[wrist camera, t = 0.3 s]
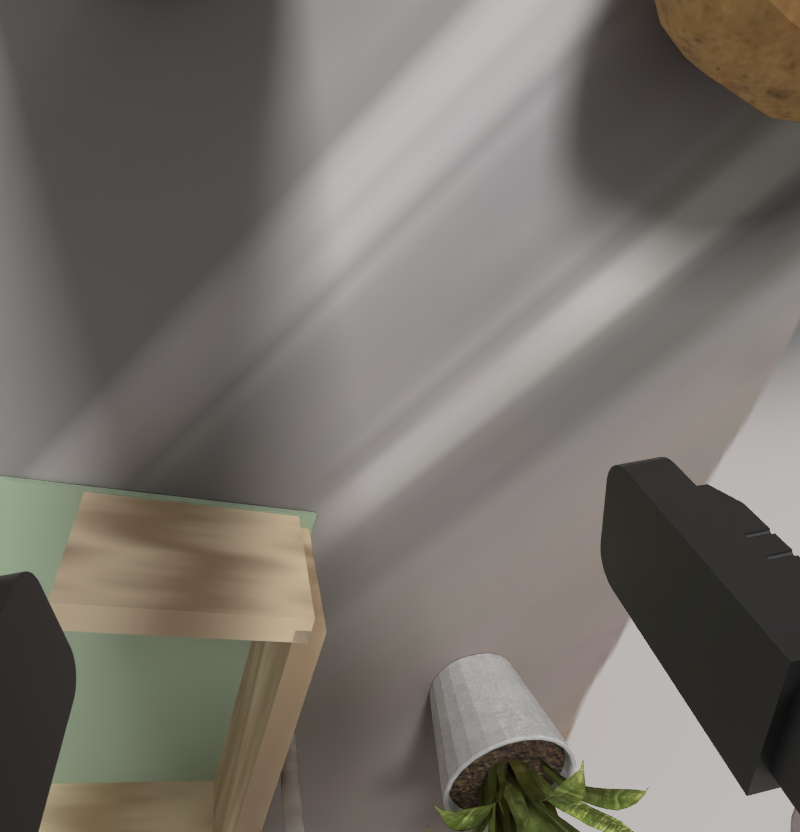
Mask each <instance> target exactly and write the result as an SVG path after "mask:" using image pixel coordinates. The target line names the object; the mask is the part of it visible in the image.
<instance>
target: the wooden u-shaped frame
mask: <svg viewBox="0 0 800 832" xmlns="http://www.w3.org/2000/svg"><path fill="white" fill-rule="evenodd" d="M48 601H49V603H50V605H51V607H52V609H53V611H54V614H55V616H56V618H57V620H58V622H59V624H60V626H61V628H62V630H63V631H74V632H93V633H113V634H133V635H153V636H173V637H193V638H212V639H232V640H252V642H251V646H250V650H249V653H248V657H247V661H246V664H245V668H244V672H243V676H242V679H241V683H240V687H239V690H238V694H237V698H236V701H235V705H234V709H233V713H232V716H231V720H230V724H229V727H228V731H227V735H226V738H225V742H224V746H223V750H222V753H221V757H220V761H219V764H218V768H217V772H216V775H215V779H214V781H174V782H117V783H60V784H51V787H50V791H49V795H48V798H47V802H46V806H45V810H44V813H43V817H42V821H41V825H40V828H39V832H262V829H263V826H264V823H265V820H266V817H267V814H268V811H269V807H270V804H271V801H272V798H273V795H274V792H275V789H276V786H277V783H278V780H279V777H280V774H281V787H282V801H283V814H284V828H285V832H305V829H304V819H303V809H302V799H301V789H300V779H299V769H298V759H297V749H296V739H295V728H296V725H297V722H298V719H299V716H300V713H301V710H302V707H303V704H304V701H305V697H306V694H307V691H308V688H309V685H310V682H311V679H312V676H313V673H314V670H315V667H316V664H317V661H318V658H319V655H320V652H321V649H322V646H323V642H324V639H325V636H326V633H327V630H326V625H325V619H324V613H323V607H322V602H321V596H320V590H319V584H318V578H317V573H316V567H315V561H314V555H313V550H312V544H311V538H310V532H309V528H301V526H300V519H299V516H292V515H284V514H275V513H266V512H257V511H248V510H240V509H231V508H222V507H213V506H204V505H196V504H187V503H178V502H169V501H160V500H152V499H143V498H134V497H125V496H116V495H107V494H99V493H90V492H84V493H83V496H82V499H81V502H80V505H79V508H78V511H77V514H76V517H75V520H74V523H73V526H72V529H71V532H70V535H69V538H68V541H67V544H66V547H65V550H64V553H63V556H62V559H61V562H60V565H59V568H58V571H57V574H56V577H55V580H54V583H53V586H52V589H51V592H50V595H49V598H48Z"/></svg>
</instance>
